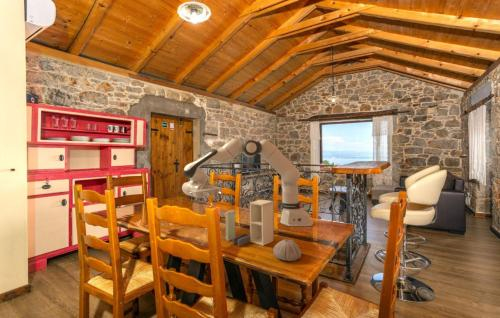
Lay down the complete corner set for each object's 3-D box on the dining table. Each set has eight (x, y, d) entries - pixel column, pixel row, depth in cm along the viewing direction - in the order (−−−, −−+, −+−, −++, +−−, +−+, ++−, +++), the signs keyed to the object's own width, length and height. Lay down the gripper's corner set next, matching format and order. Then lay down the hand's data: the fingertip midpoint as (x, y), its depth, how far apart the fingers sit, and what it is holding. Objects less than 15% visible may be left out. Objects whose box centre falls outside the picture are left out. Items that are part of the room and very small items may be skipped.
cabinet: (232, 244, 136) (232, 203, 135) (255, 235, 150) (254, 198, 149) (252, 250, 127) (251, 207, 126) (274, 240, 141) (273, 201, 141)
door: (224, 239, 143) (224, 211, 143) (232, 236, 148) (232, 209, 148) (228, 240, 141) (227, 212, 141) (236, 237, 146) (235, 210, 146)
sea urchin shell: (284, 249, 129) (284, 233, 129) (307, 256, 120) (307, 240, 119) (267, 257, 119) (267, 240, 119) (291, 266, 110) (291, 248, 110)
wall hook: (223, 218, 185) (219, 205, 185) (210, 221, 187) (206, 208, 188) (226, 215, 193) (223, 203, 193) (213, 218, 195) (210, 205, 195)
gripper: (187, 187, 152) (201, 190, 143) (212, 184, 167) (227, 186, 159) (186, 198, 152) (201, 201, 143) (212, 193, 168) (227, 196, 159)
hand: (215, 193), depth 151 cm, fingers open, 8 cm apart
